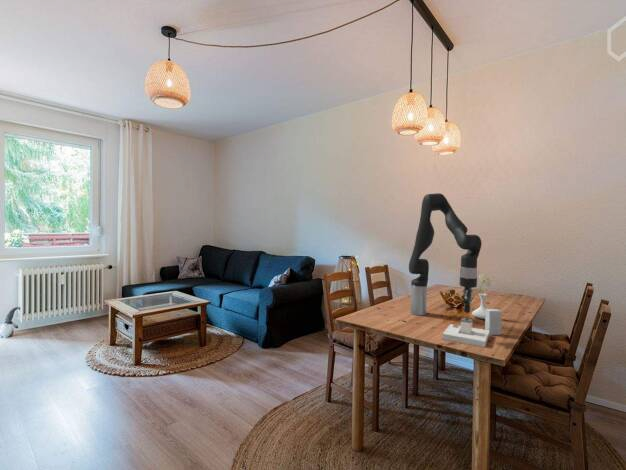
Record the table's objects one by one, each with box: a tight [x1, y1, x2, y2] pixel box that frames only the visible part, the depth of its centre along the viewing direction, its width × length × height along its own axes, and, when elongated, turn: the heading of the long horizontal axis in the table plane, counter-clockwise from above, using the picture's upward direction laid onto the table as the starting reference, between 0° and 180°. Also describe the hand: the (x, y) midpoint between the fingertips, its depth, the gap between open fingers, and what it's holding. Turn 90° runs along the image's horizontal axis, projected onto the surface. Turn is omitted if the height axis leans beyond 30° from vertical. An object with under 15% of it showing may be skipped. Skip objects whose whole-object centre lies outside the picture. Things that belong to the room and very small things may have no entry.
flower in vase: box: [471, 273, 491, 320], centre depth 194 cm, size 13×11×25 cm
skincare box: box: [484, 308, 502, 336], centre depth 166 cm, size 6×4×12 cm
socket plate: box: [442, 323, 490, 348], centre depth 160 cm, size 18×18×3 cm
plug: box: [460, 317, 473, 335], centre depth 160 cm, size 4×4×9 cm
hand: (467, 312), depth 160 cm, fingers closed
